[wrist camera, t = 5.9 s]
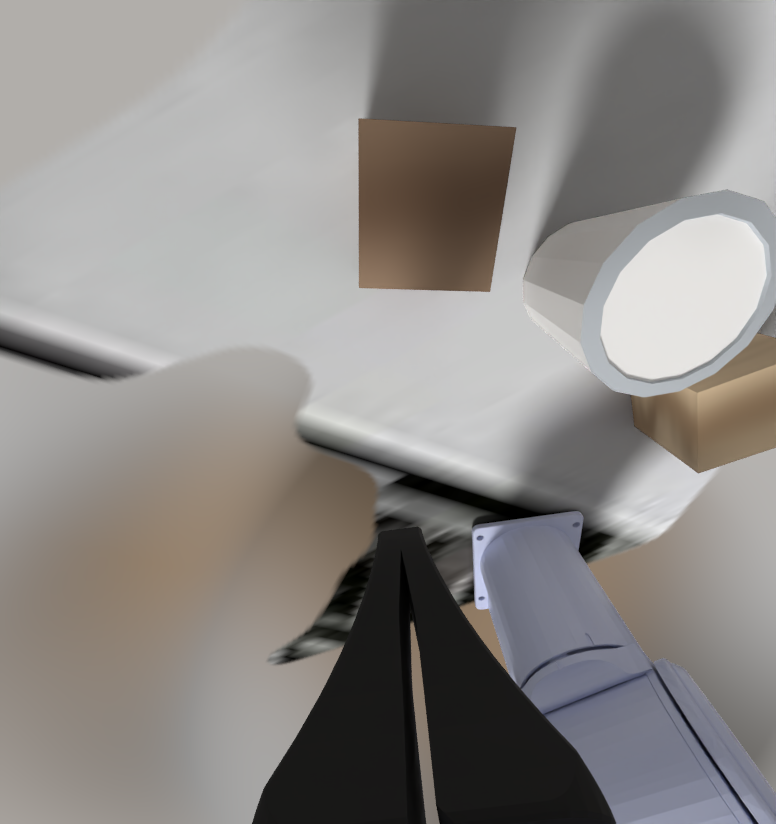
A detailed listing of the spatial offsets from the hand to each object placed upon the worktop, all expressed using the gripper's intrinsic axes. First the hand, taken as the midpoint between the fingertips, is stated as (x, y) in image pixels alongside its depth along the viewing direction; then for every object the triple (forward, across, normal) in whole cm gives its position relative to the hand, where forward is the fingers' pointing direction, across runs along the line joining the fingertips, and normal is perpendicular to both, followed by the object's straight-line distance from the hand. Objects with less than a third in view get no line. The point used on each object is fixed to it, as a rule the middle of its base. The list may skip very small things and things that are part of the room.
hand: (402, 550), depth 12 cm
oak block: (+10, -17, 0) cm, 20 cm away
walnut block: (+10, -3, -10) cm, 15 cm away
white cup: (+11, -11, -6) cm, 16 cm away
